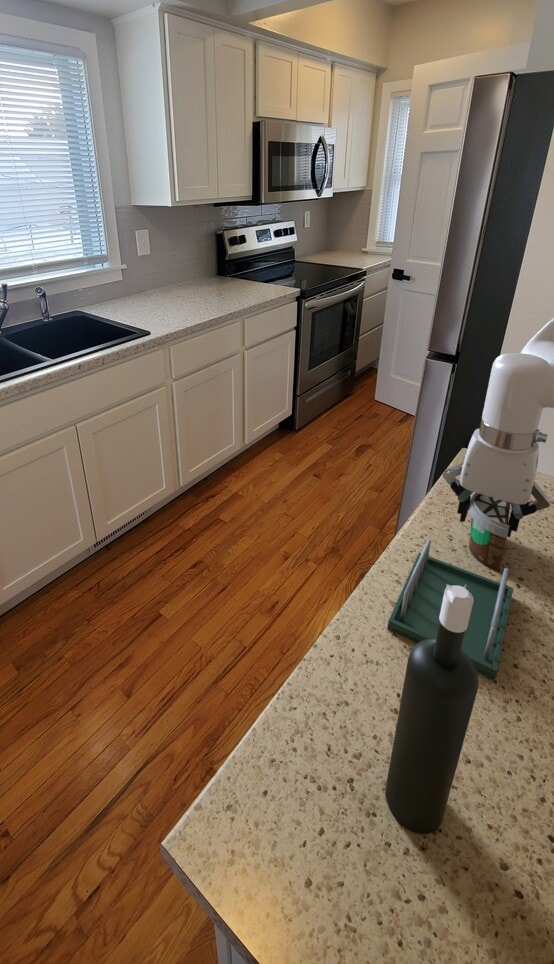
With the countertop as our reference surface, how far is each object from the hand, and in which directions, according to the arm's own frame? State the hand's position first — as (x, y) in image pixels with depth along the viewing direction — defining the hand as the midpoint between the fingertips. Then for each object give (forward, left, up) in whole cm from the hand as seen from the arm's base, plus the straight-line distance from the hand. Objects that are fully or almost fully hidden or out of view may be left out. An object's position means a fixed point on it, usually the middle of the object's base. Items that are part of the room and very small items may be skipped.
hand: (485, 523), depth 82 cm
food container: (0, 0, -5) cm, 5 cm away
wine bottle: (-1, +44, -5) cm, 44 cm away
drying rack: (+1, +17, -5) cm, 18 cm away
